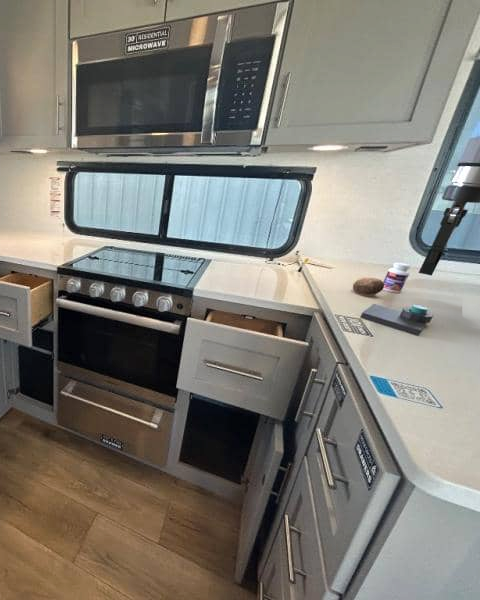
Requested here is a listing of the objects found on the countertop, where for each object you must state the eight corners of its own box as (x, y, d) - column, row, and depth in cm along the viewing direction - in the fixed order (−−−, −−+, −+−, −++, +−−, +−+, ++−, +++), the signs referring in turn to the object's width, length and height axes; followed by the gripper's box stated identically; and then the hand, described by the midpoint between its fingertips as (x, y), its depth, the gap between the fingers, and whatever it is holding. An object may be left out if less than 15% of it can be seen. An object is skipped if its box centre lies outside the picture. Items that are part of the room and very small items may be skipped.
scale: (428, 325, 90) (434, 313, 88) (420, 337, 83) (426, 324, 81) (371, 308, 99) (376, 297, 97) (359, 318, 91) (364, 306, 90)
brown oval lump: (384, 284, 110) (380, 270, 108) (388, 300, 105) (385, 285, 103) (353, 289, 116) (349, 276, 113) (356, 304, 111) (352, 290, 108)
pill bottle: (379, 289, 116) (391, 263, 112) (381, 286, 120) (393, 260, 116) (399, 294, 112) (412, 267, 109) (401, 291, 116) (414, 264, 112)
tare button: (425, 314, 89) (428, 308, 88) (423, 316, 87) (427, 310, 86) (411, 309, 91) (414, 304, 90) (408, 312, 89) (411, 306, 88)
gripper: (450, 184, 90) (411, 266, 99) (445, 184, 82) (403, 273, 91) (491, 186, 85) (446, 273, 94) (491, 186, 77) (441, 281, 86)
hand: (425, 273), depth 92 cm, fingers closed
